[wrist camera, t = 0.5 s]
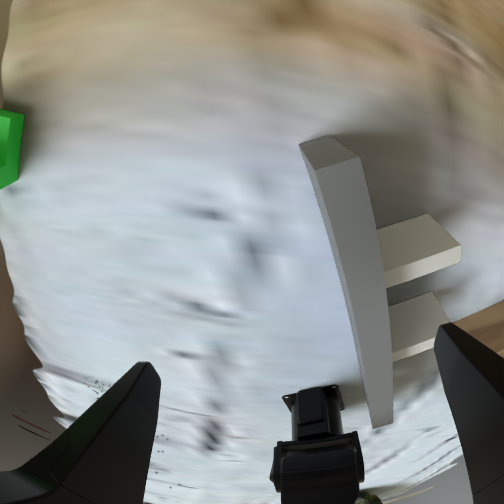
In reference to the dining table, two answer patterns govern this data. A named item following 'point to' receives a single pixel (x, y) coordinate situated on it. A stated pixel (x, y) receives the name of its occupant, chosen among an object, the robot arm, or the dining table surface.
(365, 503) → the rock
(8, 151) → the mechanical part
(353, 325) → the slab with two fins
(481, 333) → the rail
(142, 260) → the dining table surface
